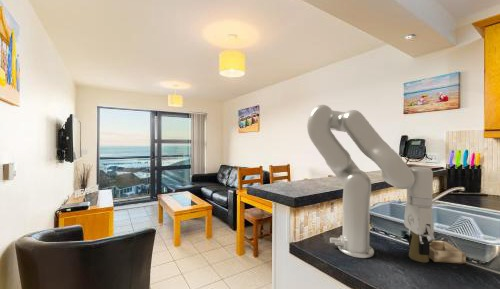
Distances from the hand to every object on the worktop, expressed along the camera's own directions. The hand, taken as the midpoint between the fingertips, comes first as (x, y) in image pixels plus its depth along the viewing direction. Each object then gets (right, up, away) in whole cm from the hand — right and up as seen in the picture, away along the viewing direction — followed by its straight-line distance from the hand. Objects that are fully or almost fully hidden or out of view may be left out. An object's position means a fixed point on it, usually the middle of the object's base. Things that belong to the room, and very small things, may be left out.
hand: (418, 249), depth 82 cm
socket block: (+9, -3, +2) cm, 10 cm away
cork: (0, -3, 0) cm, 3 cm away
